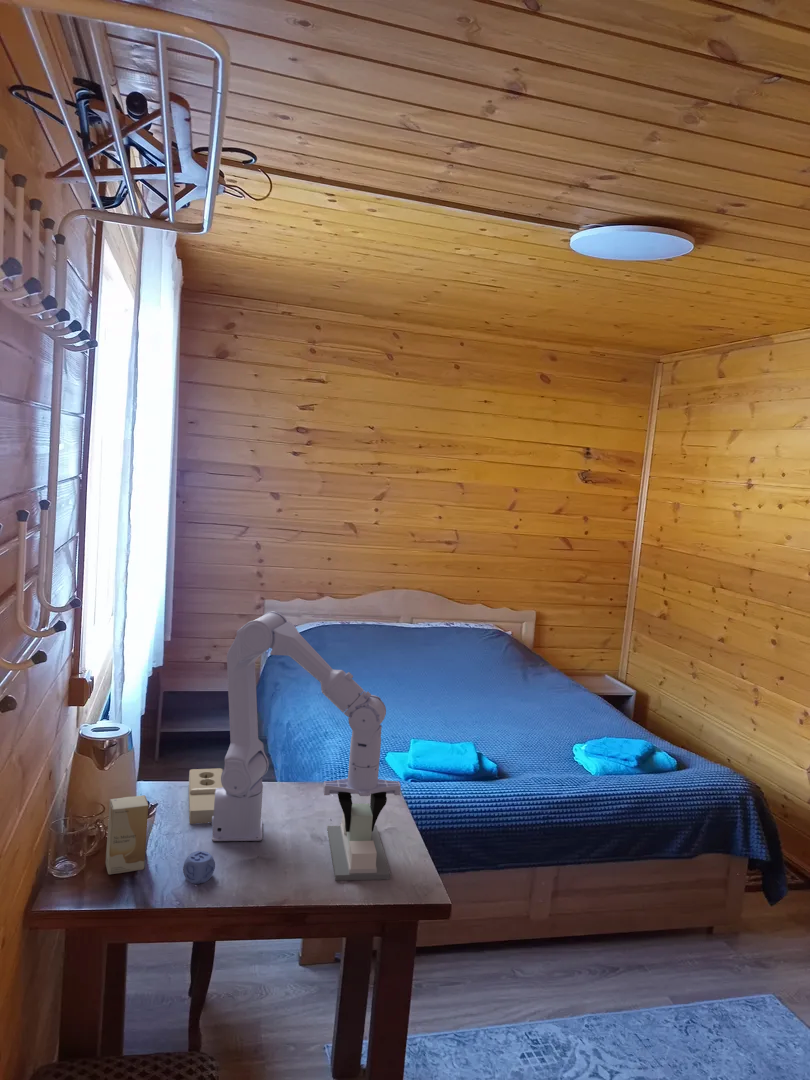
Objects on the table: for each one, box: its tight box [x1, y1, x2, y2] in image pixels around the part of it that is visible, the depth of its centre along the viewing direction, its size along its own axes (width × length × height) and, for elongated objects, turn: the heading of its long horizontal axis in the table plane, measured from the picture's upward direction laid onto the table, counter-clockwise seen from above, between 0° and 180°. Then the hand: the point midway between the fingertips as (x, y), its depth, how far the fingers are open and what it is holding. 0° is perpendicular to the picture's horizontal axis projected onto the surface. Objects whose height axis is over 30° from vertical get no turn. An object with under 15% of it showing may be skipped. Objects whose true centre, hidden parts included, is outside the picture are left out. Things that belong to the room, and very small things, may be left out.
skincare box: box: [105, 795, 149, 875], centre depth 139 cm, size 6×4×12 cm
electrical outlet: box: [188, 767, 224, 825], centre depth 166 cm, size 7×4×18 cm
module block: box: [347, 803, 373, 842], centre depth 150 cm, size 4×5×6 cm
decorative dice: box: [182, 850, 216, 885], centre depth 138 cm, size 4×4×4 cm
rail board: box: [327, 812, 391, 881], centre depth 150 cm, size 10×18×5 cm, turn 10°
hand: (358, 829), depth 150 cm, fingers closed on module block, 4 cm apart
